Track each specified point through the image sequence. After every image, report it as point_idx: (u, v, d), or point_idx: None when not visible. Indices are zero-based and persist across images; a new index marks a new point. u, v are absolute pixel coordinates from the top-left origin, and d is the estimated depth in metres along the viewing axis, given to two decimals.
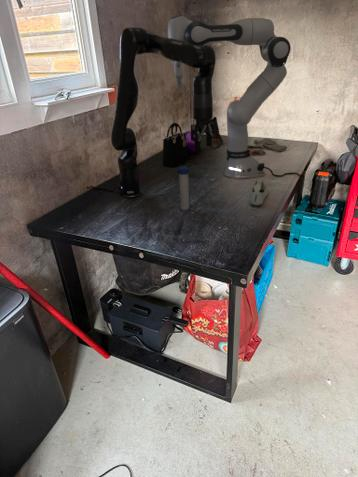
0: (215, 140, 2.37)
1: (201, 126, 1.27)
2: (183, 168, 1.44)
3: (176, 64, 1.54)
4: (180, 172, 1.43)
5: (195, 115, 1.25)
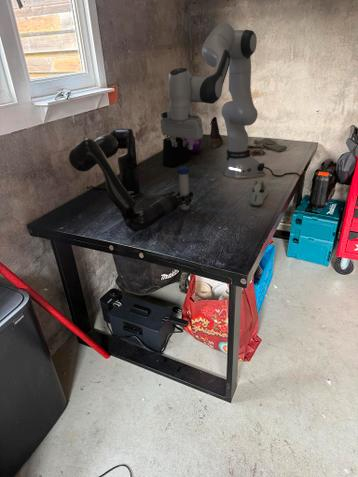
0: (215, 140, 2.37)
1: None
2: (183, 168, 1.44)
3: (197, 124, 1.28)
4: (180, 172, 1.43)
5: None
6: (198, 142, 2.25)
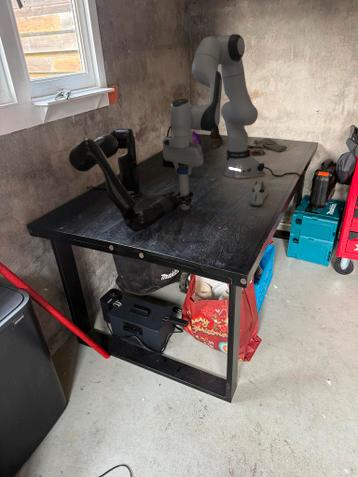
0: (215, 140, 2.37)
1: None
2: (183, 168, 1.44)
3: (198, 153, 1.34)
4: (180, 172, 1.43)
5: None
6: (198, 142, 2.25)
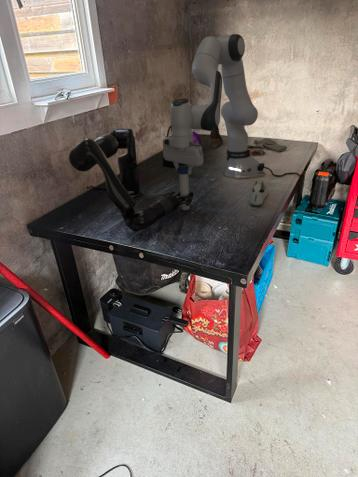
0: (215, 140, 2.37)
1: None
2: (184, 167, 1.44)
3: (198, 152, 1.34)
4: None
5: None
6: (198, 142, 2.25)
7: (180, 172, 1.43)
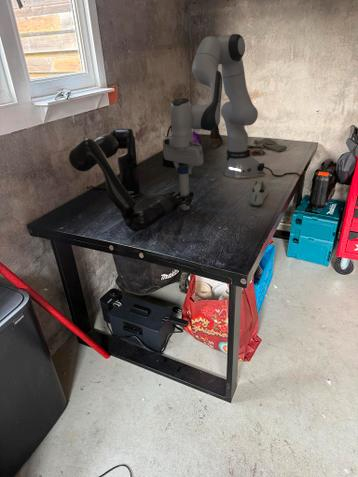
0: (215, 140, 2.37)
1: None
2: (183, 167, 1.45)
3: (198, 152, 1.34)
4: None
5: None
6: (198, 142, 2.25)
7: None
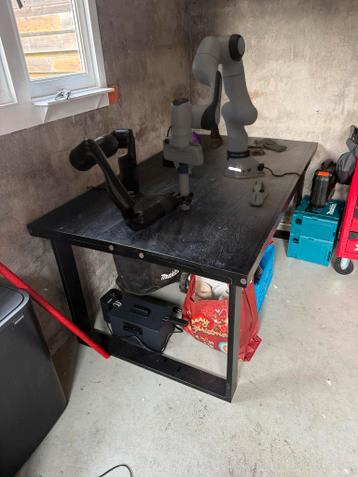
0: (215, 140, 2.37)
1: None
2: (182, 167, 1.44)
3: (198, 152, 1.34)
4: None
5: None
6: (198, 142, 2.25)
7: None
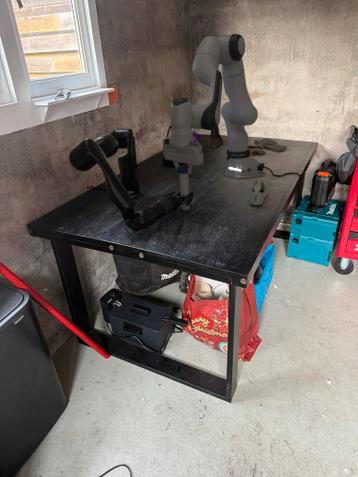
0: (215, 140, 2.37)
1: None
2: (182, 167, 1.44)
3: (198, 152, 1.34)
4: (178, 170, 1.44)
5: None
6: (198, 142, 2.25)
7: None
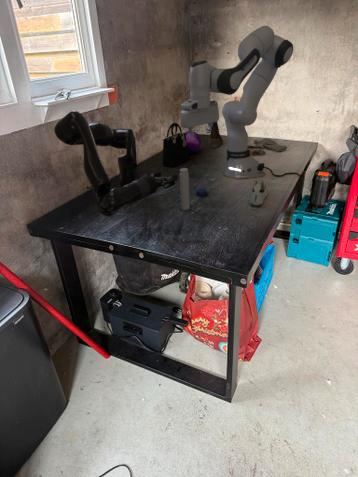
0: (215, 140, 2.37)
1: None
2: (202, 190, 1.66)
3: None
4: None
5: None
6: (198, 142, 2.25)
7: (201, 194, 1.65)
